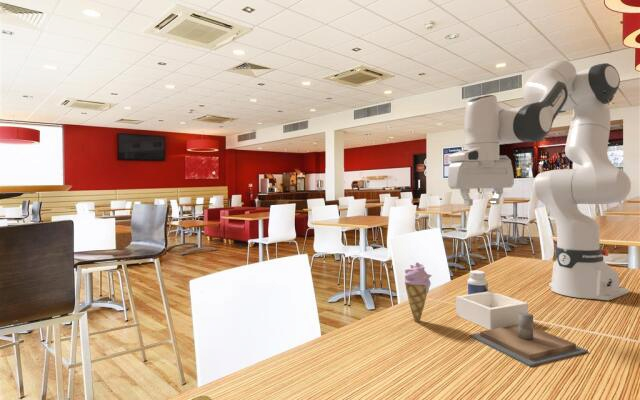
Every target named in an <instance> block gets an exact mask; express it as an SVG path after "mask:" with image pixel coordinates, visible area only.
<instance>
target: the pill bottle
mask: <svg viewBox="0 0 640 400" xmlns="http://www.w3.org/2000/svg"><path fill="white" fill-rule="evenodd" d="M485 278H486V272H485V271H483V270H475V269H474V270H470V271H469V278H467V283H466V284H467V295H468V294H475V293H482V292H488V290H489V289H488V286H489V285H488V284H489V283H488V280H487V279H485Z"/></svg>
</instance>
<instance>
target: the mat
mask: <svg viewBox="0 0 640 400" xmlns="http://www.w3.org/2000/svg"><path fill="white" fill-rule="evenodd" d="M469 336H470V337H471V338H472V339H475V340H477V341H478V342H480V343H482V344H484V345H486V346H488V347H490V348H492V349H494V350H496V351H498V352H500V353H502V354H504V355H506V356H508V357H510V358H512V359H513V360H516V361H517V362H520V363H522V364H524V365H526V366H528V367H535V366H539V365H543V364H546V363H547V364H548V363H550V362H555V361H558V360H563V359H567V358H570V357H574V356H578V355H583V354H586V353H589V350H587V349H585V348H583V347H580V346H578V345H576V349H572V350H568V351H564V352H560V353H556V354H552V355H548V356H544V357H539V358H535V359H531V360H529V359H527V358H525V357H522V356H520V355H518V354H516V353H514V352H512V351H510V350H508V349H506V348H504V347H502V346H500V345H498V344H496V343H494V342H492V341H490V340H487V339H485V338H483V337H481V336H480V332H477V333H471V334H469ZM582 353H583V354H582Z"/></svg>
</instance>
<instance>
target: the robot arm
mask: <svg viewBox="0 0 640 400" xmlns="http://www.w3.org/2000/svg"><path fill="white" fill-rule="evenodd" d="M620 83H621V80H620V74H619V72H618V70H617V69H616V67H615V66H613V65H612V64H609V63H599V64H595V65H592V66H591V67H589V68H585V69H582V70H579V71H577V69H576V67H575V65H574V64H573V63H572V62H570V61H568V60H566V59H565V60H564V59H560V60H555V61H552V62H550V63H548V64H546V65H544V66H543V67H541V68H540V69H538V70H537V71H536V72H535V73H533V75H531V76H530V77H529V78H527V81H526V82H525V83H524V85H523V87H522V97H523V100H524V102H525V103H526V105H522V106H517V107H511V108H506V109H505V108H503V107H502V106H501V105H500V104H499V103H498V99H497V96H496V95H494V94H490V95H489V94H488V95H482V96H478V97H473V98H471V99H469V100H468V101H467V103H466V106H465V109H464V110H465V111H464V132H465V141H464V149H461V150H460V151H456V152H454V153H451V154H449V158H448V159H449V162H450V164H449V165H448V171H447V173H448V175H447V181H448V182H447V183H448V186H449V189H450V190H459V193H460V195H461V197H462V199H463V206H464V207H465V206H466V207H469V206H471V207H472V206H473V205H474V203H473V201H474V199H473V198H471V197H470V195H469V194H470V191H471V190H473V189H475V190H476V189H492V190H493V192H494V194H493V197H490V204H491V205H496V206H497V205H500V200H501V197H502V195H503V193H504V188H505V189H508V188H513V186H514V184H515V177H514V176H515V175H514V168H513V164H512V160H511V159H510V157H508V155H506V154H505V155H500V145H506V144H507V145H509V144H510V145H511V144H518V143H531V142H532V143H534V142H535V143H536V142H540V141H542V140H543V139H545V138H546V137H547V136H548V134H549V133H550V131H551V129H552V126H553V123H554V120H555V119H556V118H557V116H558V115H559V114H561V113H565V112H568V111H571V110H573V114H574V115H573V118H572V119H571V123H570V126H569V128H568V129H569V130H568V134H567V138H566V143H565V148H564V152H565V153H564V154H565V156H566V157H567V159H568V160H569V161H571V162H573V163H575V164H576V165H580V167H579V168H566V169H564V168H563V169H552V170H547V171H541V172H540V173H538V174H537V175H536V176H535V178H534V179H533V181H532V184H531V186H532V187H531V188H532V193H533V195H534V197H535V198H536V199H537V200H538V201H540V202H541V203H542V204H544V205H545V206H546V207H547V208H548V211H550V213H551V216H552V217H553V218H554V219H553V220H554V222H555V227H556V246H555V250H554V254H555V255H554V256H555V259H556V260H555V261H554V262H553V267H552V273H551V281H550V282H549V283H548V286H549V287H550V290H551V292H554V293H556V294H559V295H563V296H566V297H570V298H571V297H573V298H579V299H592V300H599V301H600V300H601V301H610V300H615V299H617V298H618V297H621V296H625V295H626V294H629V293H630V290H629V289H628V288H626V287H623V286H621V285H620V276H619V273H618V272H617V271H616V270H615V269H613V268H612V267H611V266H610V265H609V264H608V263H606V262H605V261H604V260H605V259H604V256H605V257H608V256H609V254H610V251H609V249H603V248H600V230H601V229H600V225H599V223H598V222H597V221H596V220H595V219H594V218H593V217H590V216H588V215H586V214H583V213H582V212H581V211H580V209H579V206H578V204H579V205H607V204H614V203H620V202H622V201H624V200H625V199H626V198H627V197H628V196H629V194H630V192H631V187H632V184H631V183H632V182H631V179H630V177H629V176H628V174H627V173H626V172H625V171H624V170H622V169H621V168H618V167H617V166H615V165H614V164H613V163H612V162H611V160H610V158H609V156H608V145H609V138H610V131H611V112H610V111H611V110H610V109H609V106H607V104H609V103H610V102H612V101H613V99H614V97H615V94H616V93H617V91H618V90H619V86H620Z"/></svg>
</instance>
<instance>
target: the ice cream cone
mask: <svg viewBox="0 0 640 400" xmlns="http://www.w3.org/2000/svg"><path fill="white" fill-rule="evenodd" d="M409 267H410V268H409V269H404V273H405V274H404V285H405V291H406V295H407V299H408V303H409V306H410V311H411V314H412V317H413V320H414V322H415V323H419V322H420V321H421V318H422V315H423V310H424V307H425V303H426V299H427V295H428V293H429V289H430V288H431V284H432V283H431V281H430V278H431V277H432V275H433V274H428V273H427V271H426V270H425V268H426V267H425V266H424V264H422V263H419V262H415V265H413V264H411V265H410V266H409Z"/></svg>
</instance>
